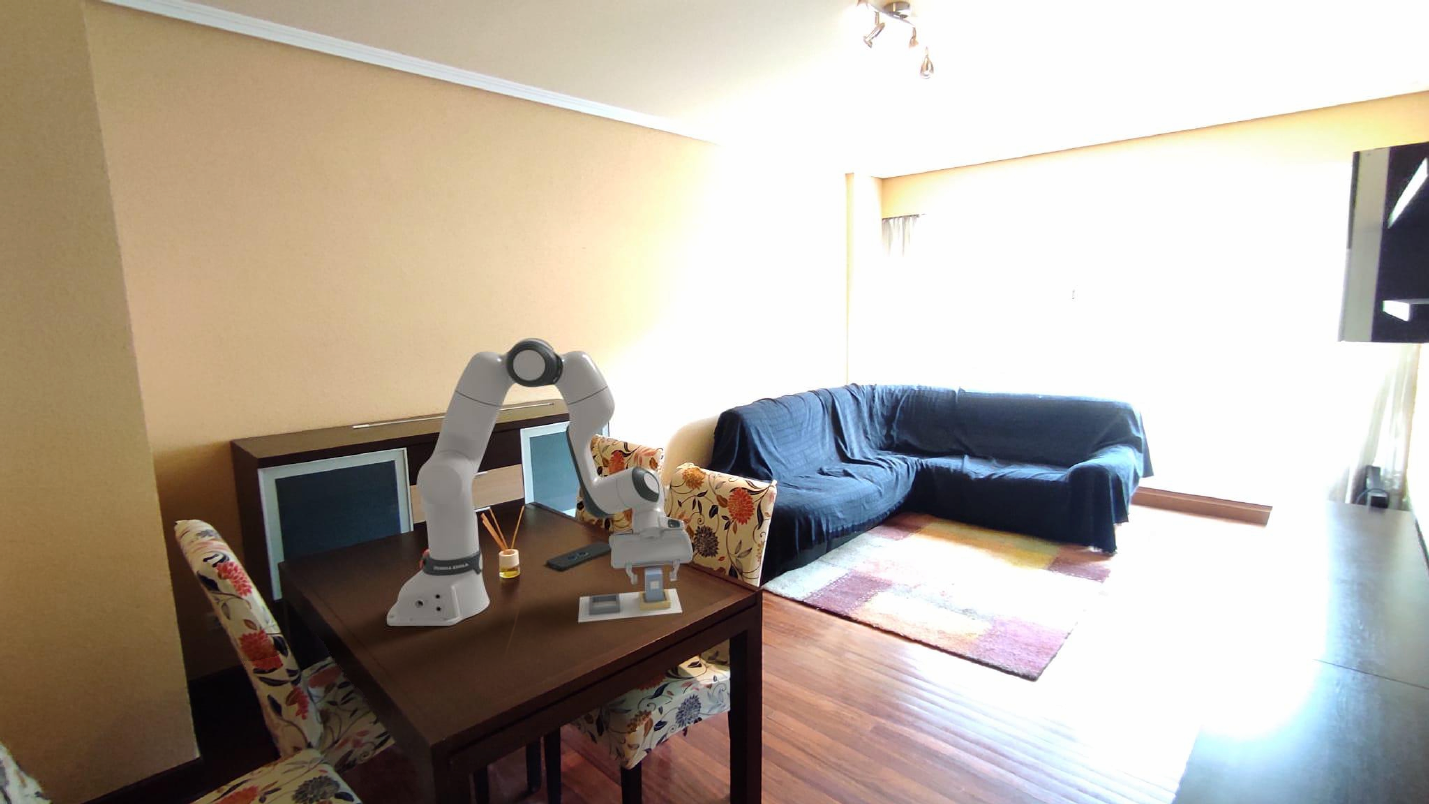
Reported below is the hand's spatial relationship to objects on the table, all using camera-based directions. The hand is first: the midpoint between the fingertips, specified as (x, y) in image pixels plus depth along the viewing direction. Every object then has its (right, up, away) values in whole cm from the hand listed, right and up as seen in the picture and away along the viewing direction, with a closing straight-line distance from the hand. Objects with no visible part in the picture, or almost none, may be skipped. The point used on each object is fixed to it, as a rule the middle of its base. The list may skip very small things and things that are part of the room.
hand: (654, 581), depth 150 cm
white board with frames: (-6, -6, 0) cm, 9 cm away
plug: (0, -5, +1) cm, 6 cm away
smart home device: (-24, -3, +32) cm, 40 cm away
